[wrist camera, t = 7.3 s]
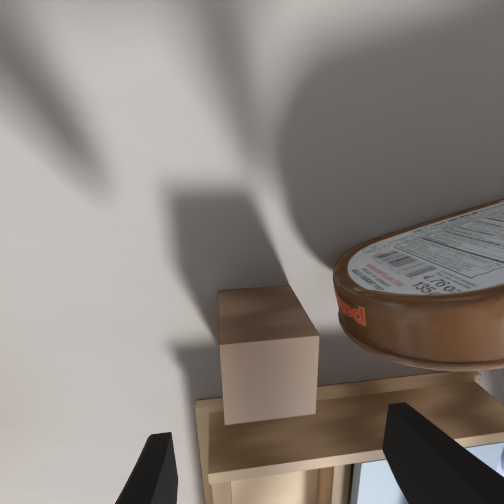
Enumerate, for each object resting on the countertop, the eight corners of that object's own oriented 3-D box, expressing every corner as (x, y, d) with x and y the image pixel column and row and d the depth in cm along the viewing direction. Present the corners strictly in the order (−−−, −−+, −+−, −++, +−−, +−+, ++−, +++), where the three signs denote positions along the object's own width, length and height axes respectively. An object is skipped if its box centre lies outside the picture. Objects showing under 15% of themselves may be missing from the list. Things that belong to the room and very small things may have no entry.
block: (289, 285, 17) (319, 335, 12) (288, 346, 18) (315, 413, 13) (217, 290, 16) (219, 344, 11) (221, 352, 17) (224, 425, 13)
